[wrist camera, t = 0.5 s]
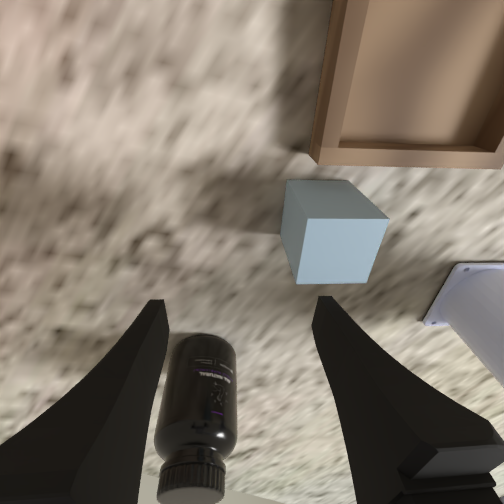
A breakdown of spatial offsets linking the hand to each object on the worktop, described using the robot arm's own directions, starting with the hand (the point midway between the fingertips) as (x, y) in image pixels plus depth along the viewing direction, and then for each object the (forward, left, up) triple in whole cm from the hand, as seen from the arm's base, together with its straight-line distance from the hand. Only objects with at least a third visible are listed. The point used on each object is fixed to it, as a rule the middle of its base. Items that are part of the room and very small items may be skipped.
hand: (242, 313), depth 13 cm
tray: (-11, -11, -9) cm, 18 cm away
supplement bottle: (+3, +16, -10) cm, 19 cm away
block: (-6, -1, -9) cm, 11 cm away
